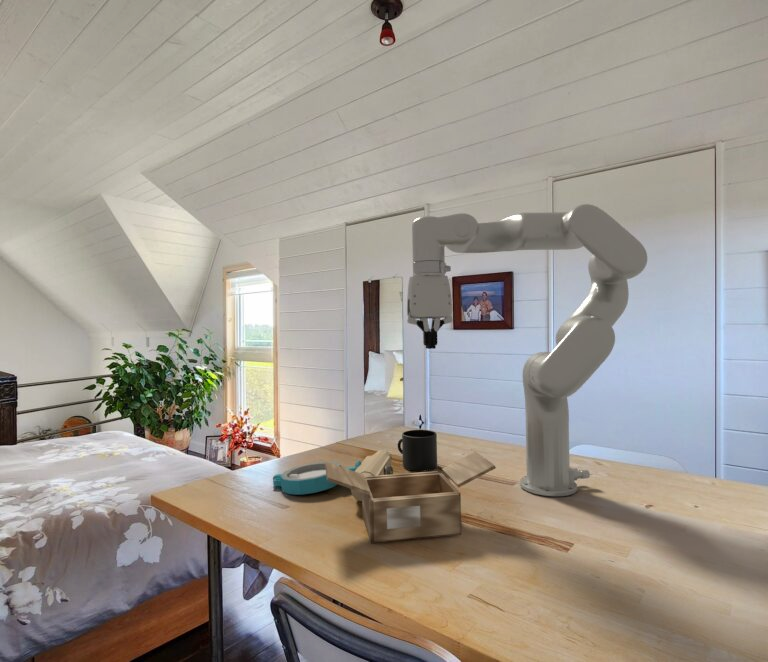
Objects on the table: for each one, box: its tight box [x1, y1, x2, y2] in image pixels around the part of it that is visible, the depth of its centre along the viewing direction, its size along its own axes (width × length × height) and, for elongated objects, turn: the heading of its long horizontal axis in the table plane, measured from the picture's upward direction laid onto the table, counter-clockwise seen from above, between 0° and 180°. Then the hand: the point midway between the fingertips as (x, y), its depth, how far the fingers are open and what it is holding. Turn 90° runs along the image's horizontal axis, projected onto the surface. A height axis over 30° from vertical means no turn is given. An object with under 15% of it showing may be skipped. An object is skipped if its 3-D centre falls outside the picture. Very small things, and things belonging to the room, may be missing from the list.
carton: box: [361, 470, 462, 544], centre depth 89 cm, size 17×14×8 cm
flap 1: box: [325, 461, 370, 495], centre depth 87 cm, size 1×10×8 cm
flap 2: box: [441, 451, 497, 489], centre depth 91 cm, size 1×10×8 cm
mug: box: [397, 429, 438, 472], centre depth 127 cm, size 9×12×9 cm
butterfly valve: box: [272, 449, 394, 502], centre depth 111 cm, size 27×7×30 cm
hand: (430, 348), depth 109 cm, fingers closed
